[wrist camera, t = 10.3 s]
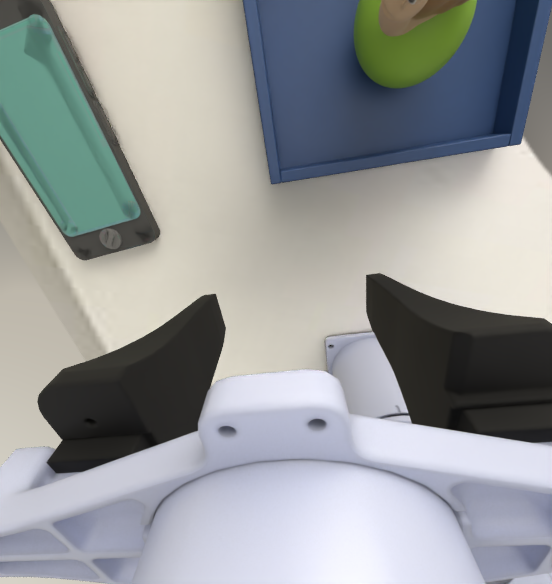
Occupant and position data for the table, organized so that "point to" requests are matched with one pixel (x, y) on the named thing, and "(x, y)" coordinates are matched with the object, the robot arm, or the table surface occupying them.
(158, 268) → the table surface
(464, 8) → the snail figurine
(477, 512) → the robot arm
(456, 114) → the tray
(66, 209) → the smartphone
